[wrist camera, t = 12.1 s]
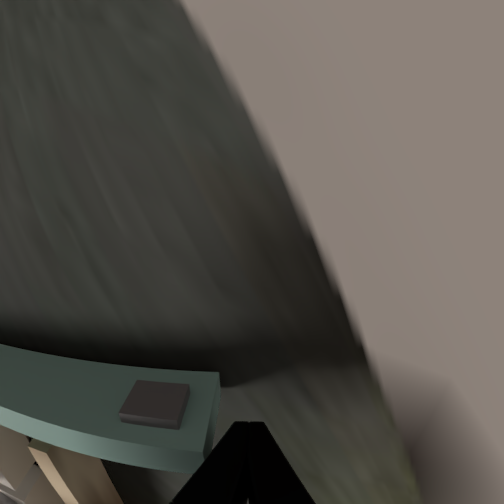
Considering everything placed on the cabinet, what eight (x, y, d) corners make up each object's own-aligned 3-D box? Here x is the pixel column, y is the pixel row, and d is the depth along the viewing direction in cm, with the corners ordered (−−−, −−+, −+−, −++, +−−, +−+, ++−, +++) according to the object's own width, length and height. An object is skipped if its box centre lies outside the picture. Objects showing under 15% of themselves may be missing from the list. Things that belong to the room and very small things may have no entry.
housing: (142, 533, 14) (132, 566, 11) (-7, 476, 14) (-22, 497, 11) (78, 407, 11) (46, 453, 8) (-74, 353, 11) (-101, 373, 8)
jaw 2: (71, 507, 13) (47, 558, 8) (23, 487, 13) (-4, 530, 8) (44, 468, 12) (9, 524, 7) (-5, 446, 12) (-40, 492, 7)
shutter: (220, 395, 10) (207, 475, 7) (-43, 348, 10) (-84, 378, 7) (218, 363, 10) (200, 442, 6) (-51, 324, 10) (-94, 352, 7)
